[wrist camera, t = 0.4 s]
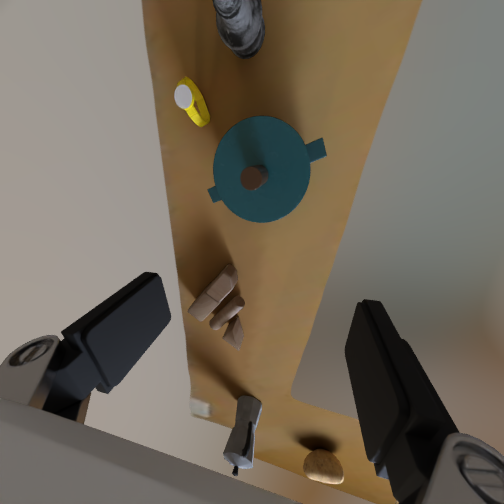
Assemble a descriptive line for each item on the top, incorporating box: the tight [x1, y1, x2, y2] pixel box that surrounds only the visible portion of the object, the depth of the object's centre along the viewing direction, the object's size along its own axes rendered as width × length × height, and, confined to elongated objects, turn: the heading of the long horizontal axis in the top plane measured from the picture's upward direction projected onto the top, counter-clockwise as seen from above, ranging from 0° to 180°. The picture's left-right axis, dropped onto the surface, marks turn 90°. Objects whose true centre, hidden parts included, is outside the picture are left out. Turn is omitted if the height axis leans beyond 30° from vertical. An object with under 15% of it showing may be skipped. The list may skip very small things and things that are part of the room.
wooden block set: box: [188, 264, 245, 350], centre depth 47 cm, size 17×6×18 cm
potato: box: [303, 449, 344, 484], centre depth 68 cm, size 10×14×8 cm
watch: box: [174, 77, 210, 127], centre depth 29 cm, size 6×3×6 cm, turn 22°
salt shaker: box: [213, 0, 265, 59], centre depth 21 cm, size 6×6×12 cm
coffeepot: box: [223, 396, 262, 476], centre depth 60 cm, size 15×9×18 cm, turn 161°
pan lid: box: [213, 116, 310, 223], centre depth 26 cm, size 14×14×6 cm
